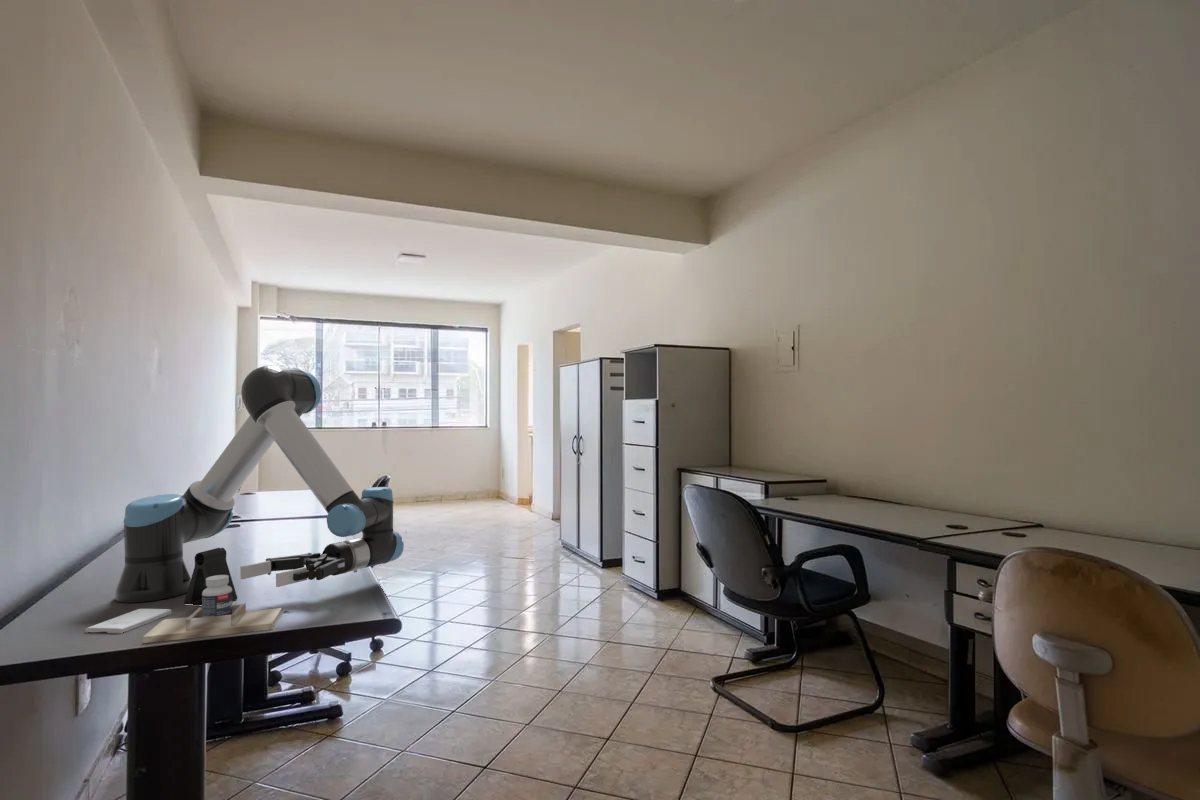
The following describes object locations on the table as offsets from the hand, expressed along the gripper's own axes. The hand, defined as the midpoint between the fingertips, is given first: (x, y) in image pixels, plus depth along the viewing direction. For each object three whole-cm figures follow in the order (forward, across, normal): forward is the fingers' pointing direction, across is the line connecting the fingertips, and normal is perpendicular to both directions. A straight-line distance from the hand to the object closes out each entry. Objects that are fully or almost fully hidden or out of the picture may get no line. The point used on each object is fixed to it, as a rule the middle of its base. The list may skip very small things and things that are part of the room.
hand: (258, 576), depth 136 cm
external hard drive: (+16, +20, -9) cm, 27 cm away
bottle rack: (+9, 0, -8) cm, 12 cm away
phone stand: (0, +20, -8) cm, 22 cm away
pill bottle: (+8, 0, -7) cm, 11 cm away
